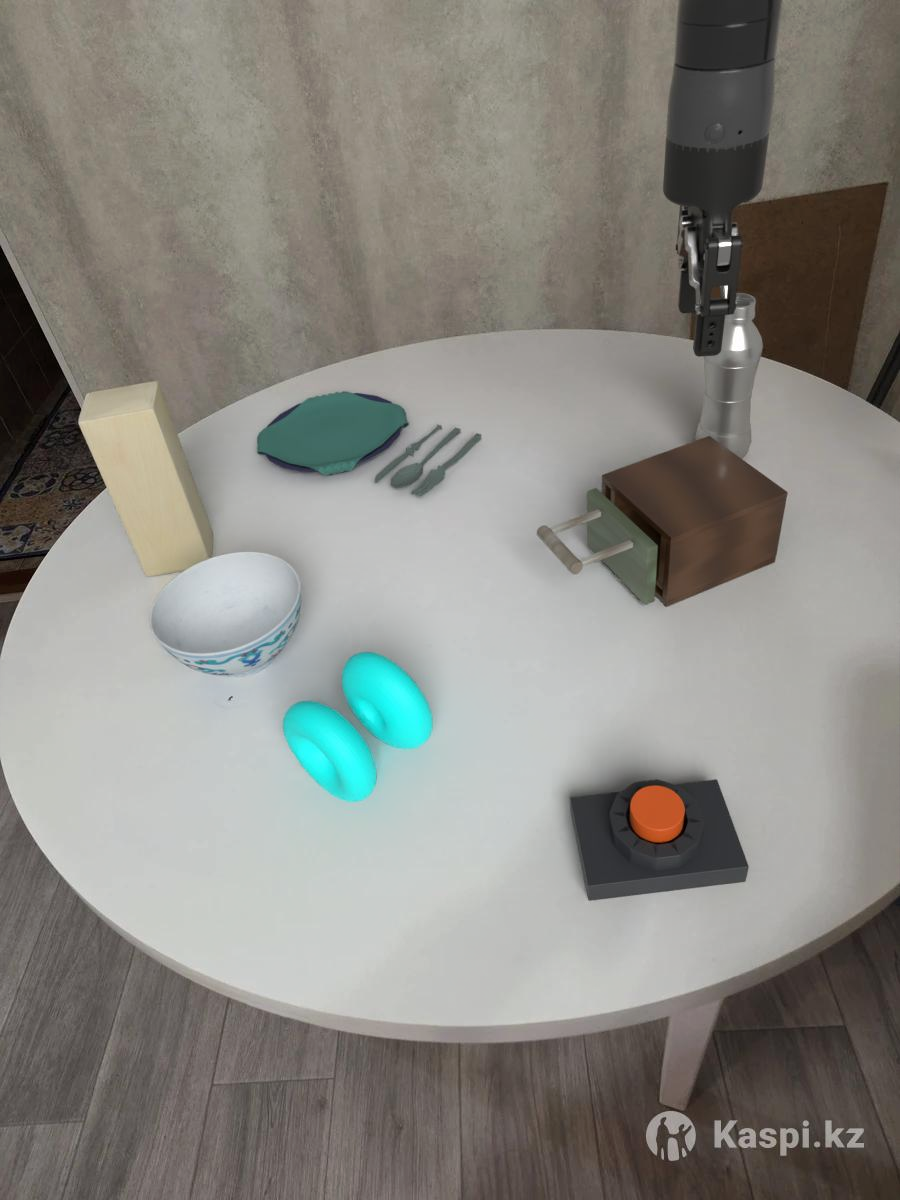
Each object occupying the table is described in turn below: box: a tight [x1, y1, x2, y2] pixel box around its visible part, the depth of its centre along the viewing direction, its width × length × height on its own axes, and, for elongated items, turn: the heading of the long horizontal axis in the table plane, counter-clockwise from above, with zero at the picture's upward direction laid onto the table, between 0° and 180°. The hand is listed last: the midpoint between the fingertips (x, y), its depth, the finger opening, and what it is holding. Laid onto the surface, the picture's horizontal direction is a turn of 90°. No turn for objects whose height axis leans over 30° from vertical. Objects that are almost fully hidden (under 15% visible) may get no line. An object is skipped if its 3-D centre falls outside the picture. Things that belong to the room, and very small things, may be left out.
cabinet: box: [601, 436, 789, 608], centre depth 91 cm, size 14×13×9 cm
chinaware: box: [149, 551, 302, 678], centre depth 88 cm, size 15×15×8 cm
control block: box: [569, 778, 750, 902], centre depth 67 cm, size 12×8×4 cm, turn 94°
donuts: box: [282, 651, 434, 803], centre depth 75 cm, size 10×10×10 cm
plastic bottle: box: [694, 292, 764, 460], centre depth 100 cm, size 6×7×20 cm
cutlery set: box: [256, 390, 482, 498], centre depth 117 cm, size 20×30×2 cm, turn 55°
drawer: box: [536, 487, 666, 606], centre depth 90 cm, size 20×11×7 cm, turn 114°
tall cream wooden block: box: [77, 380, 214, 578], centre depth 98 cm, size 8×7×21 cm
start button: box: [630, 785, 685, 843], centre depth 66 cm, size 4×4×2 cm
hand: (698, 331), depth 76 cm, fingers open, 8 cm apart
